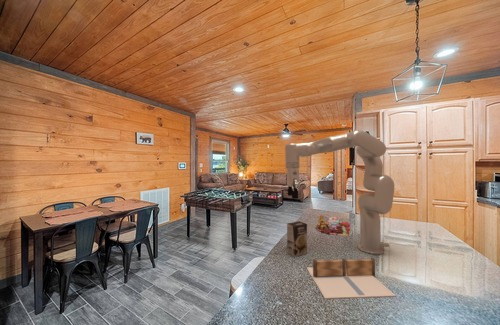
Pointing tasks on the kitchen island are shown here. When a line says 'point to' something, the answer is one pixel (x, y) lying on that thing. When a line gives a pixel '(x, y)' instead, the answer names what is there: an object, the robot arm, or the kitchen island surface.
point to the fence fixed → (329, 268)
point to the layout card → (350, 286)
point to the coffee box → (297, 238)
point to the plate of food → (333, 226)
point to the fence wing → (360, 267)
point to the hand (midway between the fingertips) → (292, 196)
